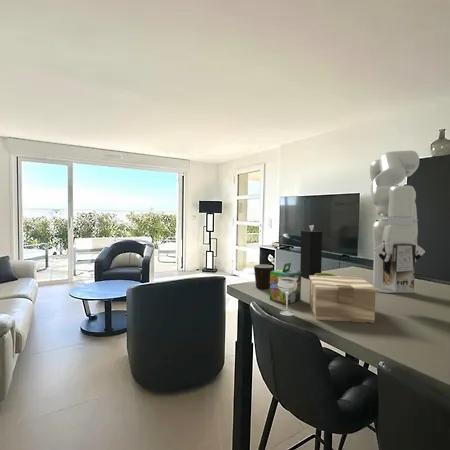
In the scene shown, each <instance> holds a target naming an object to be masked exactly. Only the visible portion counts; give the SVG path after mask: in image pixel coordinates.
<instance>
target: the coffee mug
mask: <svg viewBox="0 0 450 450" xmlns="http://www.w3.org/2000/svg"><path fill="white" fill-rule="evenodd" d="M253 271H254V280H255V288H256V289H257V288H258V290H265V291H266V290H270V272H271V271H274V266H273V265H270V264H263V263H262V264H254V265H253Z"/></svg>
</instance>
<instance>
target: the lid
mask: <svg viewBox="0 0 450 450" xmlns="http://www.w3.org/2000/svg"><path fill="white" fill-rule="evenodd" d="M309 278H310V279H309V281H310V280H311V282H312V284H313V286H314V288H315V289H323V290H339V293H338V304H353V291H367V292H375V293H378V291H377V289H376V288H375V287H373V286H372V285H371V284H372V283H369V282H368V281H367V280H365V278H363V277H361V276H360V277H358V276H339V275H337V276H315V275H309Z"/></svg>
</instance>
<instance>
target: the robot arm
mask: <svg viewBox="0 0 450 450" xmlns="http://www.w3.org/2000/svg"><path fill="white" fill-rule="evenodd" d="M419 165H420V156H419V154H418V153H417V152H416V151H415V150H395V151H388V152H384V153H383V154H382V155H381V156H380V158H379V159H376V160H373V161H372V162H371V163H370V165H369V176H370V179H371V185H370V196H371V197H370V198H371V202H372V204H373V205H374V206H375V214H376V216H377V217H378V218H382V219H379V220H376V221H374V222H373V224H372V237H373V238H372V239H373V270H372V271H373V272H372V275H373V277H372V283H370V284H371V285H372V286H373V287H375V288H376V289H377V293H378V292H380V293H384V294H385V293H387V294H398V293H399V292H394V291H392V290H391V289H389V288H387V287H385V286H383V270H384V272H386V273H389V269H390V262H388V260H389V258H390V257H391V255H392V252H393V245H400V244H412V245H416V252H415V263H417V261H418V260H419V259H421V256H423V255H424V254H425V253H426V251H425V250H424V248H423V247H421V246H420V245H418V232H419V229H418V226H419V225H418V221H419V219H418V214H417V203H416V198H417V192H416V190H415V188H414V186H412V185H399V184H400V183H402V182H403V181H404V180H405V178H406V177H411V176H412V175H413V174H414V173H415V172H416V171H417V170H418V168H419ZM384 252H385V254H384Z"/></svg>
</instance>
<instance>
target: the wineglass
mask: <svg viewBox="0 0 450 450" xmlns="http://www.w3.org/2000/svg"><path fill="white" fill-rule="evenodd" d="M278 280H279V281H278V283H277V286H278V288H279V290H280V291H281V292H283V293H285V295H286V304H285V310H281V311H279V314H280V315H281V316H289V317H290V316H294V315H295V313H294V312H293V311H290V310H288V307H289V304H288V295H290V294H291V293H293V292H294V291H295V290H296V289H297V282H296V281H297V278H294V277H279V278H278Z"/></svg>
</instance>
